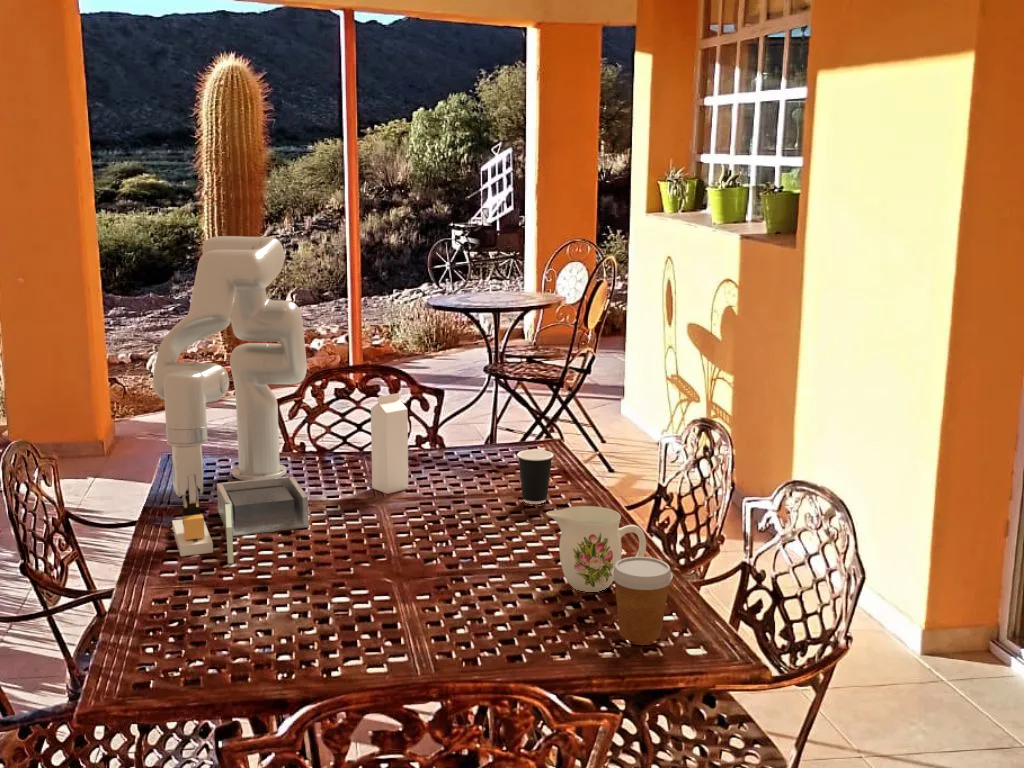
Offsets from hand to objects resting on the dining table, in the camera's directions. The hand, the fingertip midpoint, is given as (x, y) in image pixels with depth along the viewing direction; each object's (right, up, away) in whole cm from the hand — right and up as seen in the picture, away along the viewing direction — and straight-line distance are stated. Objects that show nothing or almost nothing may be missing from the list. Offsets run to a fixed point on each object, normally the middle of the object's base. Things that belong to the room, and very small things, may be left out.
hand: (191, 525), depth 212 cm
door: (+9, -4, -4) cm, 10 cm away
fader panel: (0, -3, +1) cm, 3 cm away
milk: (+35, +4, +37) cm, 51 cm away
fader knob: (+1, -2, -3) cm, 4 cm away
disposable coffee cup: (+83, -13, -40) cm, 93 cm away
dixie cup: (+68, +1, +28) cm, 73 cm away
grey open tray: (+11, -1, +14) cm, 18 cm away
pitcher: (+78, -8, -19) cm, 80 cm away
